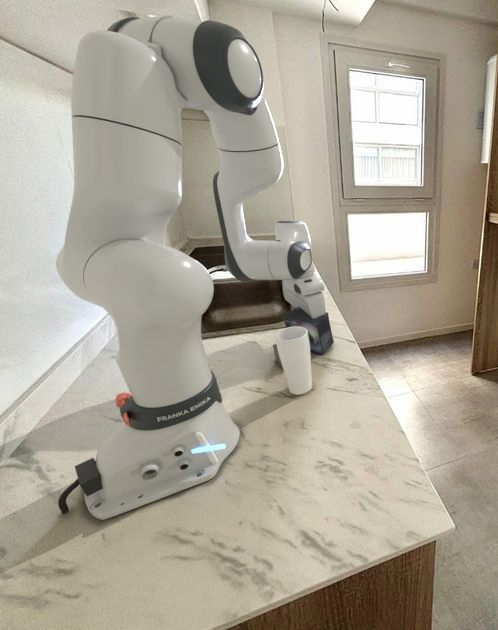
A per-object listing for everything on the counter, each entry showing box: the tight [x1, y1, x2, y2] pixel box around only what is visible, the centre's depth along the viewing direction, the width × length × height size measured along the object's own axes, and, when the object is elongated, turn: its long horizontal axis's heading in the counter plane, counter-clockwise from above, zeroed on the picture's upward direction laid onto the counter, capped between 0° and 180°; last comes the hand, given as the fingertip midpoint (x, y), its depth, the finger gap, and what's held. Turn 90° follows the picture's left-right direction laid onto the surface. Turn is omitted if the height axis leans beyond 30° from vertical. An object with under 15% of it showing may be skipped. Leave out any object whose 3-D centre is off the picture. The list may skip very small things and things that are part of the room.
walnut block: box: [272, 343, 283, 369], centre depth 87 cm, size 5×5×5 cm
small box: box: [283, 307, 335, 355], centre depth 93 cm, size 11×6×10 cm, turn 72°
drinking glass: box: [274, 326, 313, 396], centre depth 75 cm, size 7×7×15 cm
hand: (306, 322), depth 98 cm, fingers closed
